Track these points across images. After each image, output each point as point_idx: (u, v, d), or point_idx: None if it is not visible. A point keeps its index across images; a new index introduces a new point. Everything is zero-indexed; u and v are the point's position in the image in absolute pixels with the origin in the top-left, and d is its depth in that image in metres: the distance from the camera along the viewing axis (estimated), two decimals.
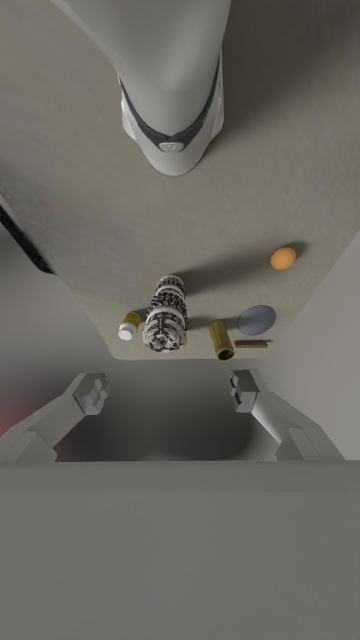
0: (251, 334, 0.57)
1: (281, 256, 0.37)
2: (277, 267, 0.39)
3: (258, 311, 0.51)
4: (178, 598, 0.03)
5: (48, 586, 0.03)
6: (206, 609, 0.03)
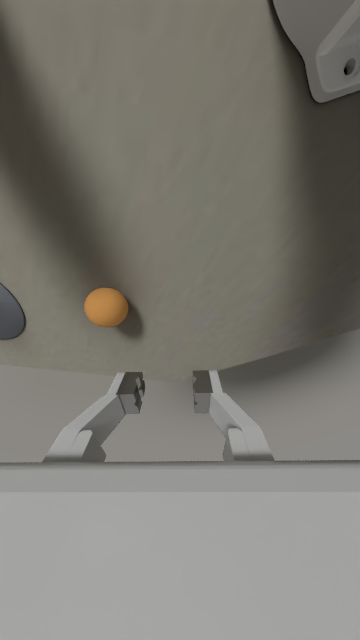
0: None
1: (105, 300, 0.18)
2: (85, 302, 0.19)
3: (3, 303, 0.24)
4: (178, 598, 0.03)
5: (48, 586, 0.03)
6: (206, 609, 0.03)
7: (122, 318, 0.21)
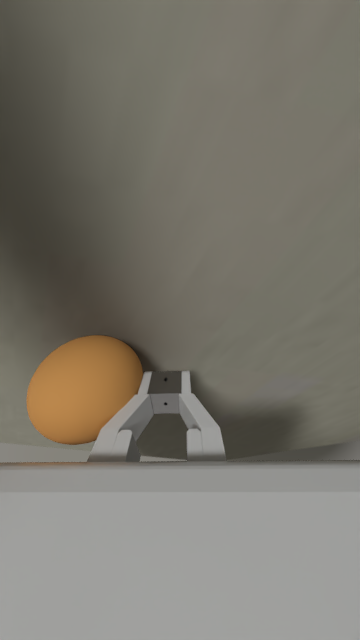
0: None
1: (84, 393, 0.06)
2: (29, 386, 0.07)
3: None
4: (178, 598, 0.03)
5: (48, 586, 0.03)
6: (206, 609, 0.03)
7: None
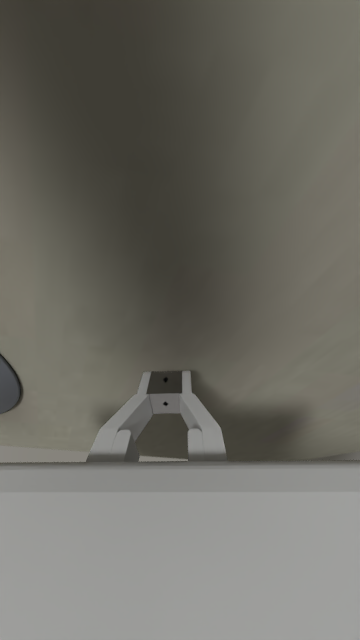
0: None
1: None
2: None
3: None
4: (178, 598, 0.03)
5: (48, 586, 0.03)
6: (206, 609, 0.03)
7: None
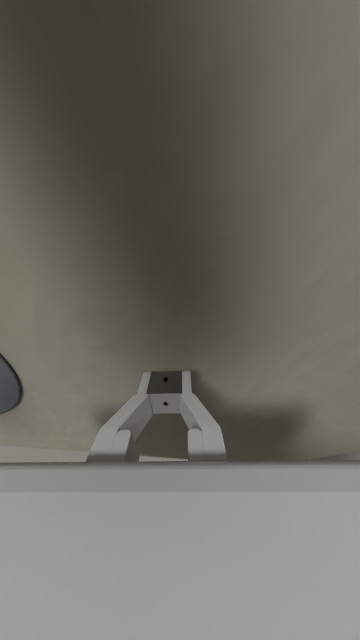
0: None
1: None
2: None
3: None
4: (178, 598, 0.03)
5: (48, 586, 0.03)
6: (206, 609, 0.03)
7: None
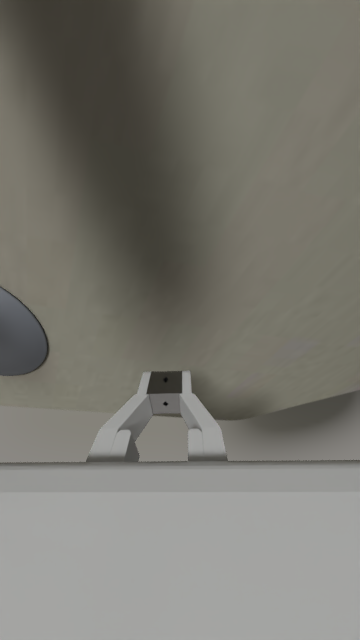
0: None
1: None
2: None
3: (18, 327, 0.16)
4: (178, 598, 0.03)
5: (48, 586, 0.03)
6: (206, 609, 0.03)
7: None
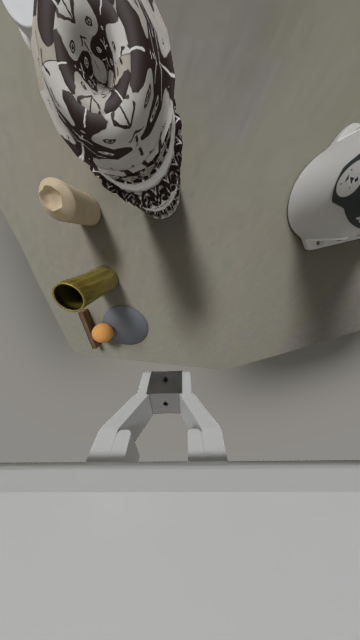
0: None
1: None
2: None
3: (139, 325, 0.44)
4: (178, 598, 0.03)
5: (48, 586, 0.03)
6: (206, 609, 0.03)
7: None
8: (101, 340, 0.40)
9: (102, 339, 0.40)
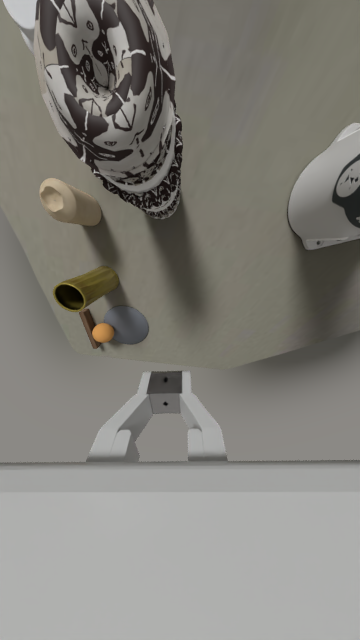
0: None
1: None
2: None
3: (140, 325, 0.44)
4: (178, 598, 0.03)
5: (48, 586, 0.03)
6: (206, 609, 0.03)
7: None
8: (102, 340, 0.40)
9: (102, 339, 0.40)
